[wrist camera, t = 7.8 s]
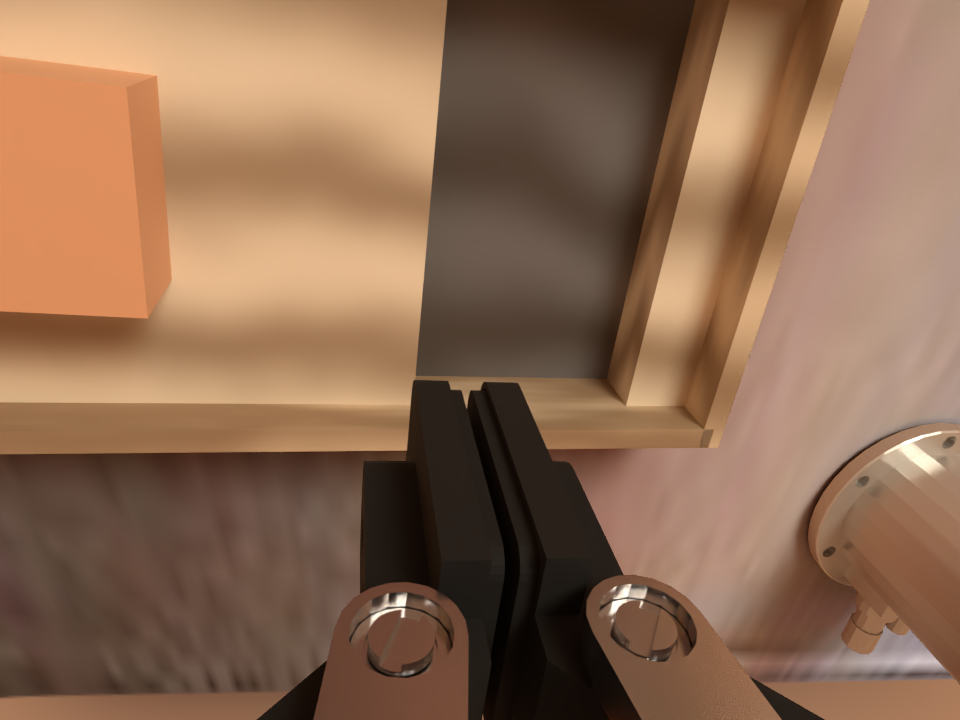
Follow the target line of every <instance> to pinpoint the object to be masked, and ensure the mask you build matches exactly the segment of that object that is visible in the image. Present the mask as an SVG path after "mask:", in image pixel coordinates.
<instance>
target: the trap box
mask: <svg viewBox="0 0 960 720" xmlns="http://www.w3.org/2000/svg"><path fill="white" fill-rule="evenodd" d="M869 1H870V0H0V56H7V57H15V58H23V59H31V60H39V61H47V62H55V63H63V64H71V65H79V66H86V67H94V68H102V69H110V70H118V71H126V72H134V73H142V74H150V75H157V82H158V96H159V110H160V123H161V137H162V151H163V165H164V178H165V192H166V206H167V220H168V233H169V247H170V261H171V275H172V280H171V282H170V283H169V285H168V287H167V288H166V290H165V292H164V293H163V295H162V296H161V298H160V300H159V301H158V303H157V305H156V306H155V308H154V309H153V311H152V313H151V314H150V316H149V318H148V319H146V318H126V317H106V316H86V315H65V314H45V313H25V312H5V311H0V454H82V453H189V452H296V451H404V450H407V443H408V431H409V418H410V406H411V394H412V385H413V381H414V380H438V381H448V382H449V384H450V388H451V390H461V391H462V394H463V397H464V401H465V405H466V408H467V404H468V397H469V393H470V391H471V390H481V386H482V384H483V382H513V383H518V384H519V385H520V387H521V390H522V392H523V394H524V397H525V399H526V401H527V404H528V406H529V408H530V411H531V413H532V415H533V418H534V420H535V422H536V424H537V427H538V429H539V431H540V434H541V436H542V438H543V441H544V443H545V445H546V448H547V449H618V448H718V446H719V443H720V440H721V437H722V434H723V431H724V428H725V425H726V422H727V419H728V416H729V413H730V411H731V408H732V405H733V402H734V399H735V396H736V393H737V390H738V387H739V384H740V381H741V378H742V375H743V372H744V369H745V366H746V363H747V360H748V358H749V355H750V352H751V349H752V346H753V343H754V340H755V337H756V334H757V331H758V328H759V325H760V322H761V319H762V316H763V313H764V310H765V307H766V305H767V302H768V299H769V296H770V293H771V290H772V287H773V284H774V281H775V278H776V275H777V272H778V269H779V266H780V263H781V260H782V257H783V254H784V252H785V249H786V246H787V243H788V240H789V237H790V234H791V231H792V228H793V225H794V222H795V219H796V216H797V213H798V210H799V207H800V204H801V201H802V199H803V196H804V193H805V190H806V187H807V184H808V181H809V178H810V175H811V172H812V169H813V166H814V163H815V160H816V157H817V154H818V151H819V148H820V146H821V143H822V140H823V137H824V134H825V131H826V128H827V125H828V122H829V119H830V116H831V113H832V110H833V107H834V104H835V101H836V98H837V95H838V93H839V90H840V87H841V84H842V81H843V78H844V75H845V72H846V69H847V66H848V63H849V60H850V57H851V54H852V51H853V48H854V45H855V42H856V40H857V37H858V34H859V31H860V28H861V25H862V22H863V19H864V16H865V13H866V10H867V7H868V4H869Z"/></svg>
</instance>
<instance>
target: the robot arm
mask: <svg viewBox="0 0 960 720" xmlns="http://www.w3.org/2000/svg"><path fill="white" fill-rule="evenodd" d="M808 542H809V549H810V552H811V554H812V556H813V558H814V560H815V561H816V563H817V564H818V565H819V566H820V567H821V569H822V570H823V571H824V572H825V573H826V574H827V575H828V576H829V577H830V578H832V579H833V580H834V581H836V582H839V583H841V584H844V585H846V586H852V587H854V588H855V589H856V590H857V593H856V595H855V604H856V605H857V609H856V611H855V612H854V613H853V614H852V615H851V617H850V619H849V621H848V623H847V625H846V627H845V628H844V630H843V632H842V634H841V636H842V640H843V641H844V643H845V644H846V645H847V646H848V647H849V648H851V649H852V650H853V651H855V652H858V653H861V654H869V653H871V652H872V651H873V649H874V647H875V645H876V644H877V642H878V640H879V638H880V636H881V635H882V631H883V627H884V626H885V625H886V627H887V628H888V629H889V630H891V631H892V632H894V633H896V634H898V635H905V634H907V632H908V630H909V629H910V630H911V632H912V633H913V634H914V635H915V636H916V637H917V638H918V639H919V640H920V641H921V643H922V644H923V645H924V646H925V647H926V648H927V649H928V650H929V651H930V652H931V653H932V655H933V656H934V657H935V658H936V659H937V660H938V661H939V662H940V663H941V664H942V666H943V667H944V668H945V669H946V670H947V671H948V672H949V673H950V674H951V675H952V677H953V678H954V679H955V680H956V681H957V682H958V683H959V684H960V425H958V424H952V423H934V424H927V425H920V426H917V427H913V428H910V429H907V430H903V431H900V432H898V433H896V434H894V435H892V436H889V437H887V438H885V439H883V440H881V441H879V442H878V443H876V444H874V445H873V446H871V447H870V448H868V449H866V450H865V451H863V452H862V453H861V454H860V455H858V456H857V457H856V458H855V459H853V460H852V461H851V462H850V463H848V464H847V465H846V466H845V467H844V468H843V469H842V470H841V471H840V472H839V473H838V474H837V475H836V476H835V477H834V479H833V480H832V481H831V483H830V484H829V485H828V487H827V488H826V489H825V491H824V492H823V494H822V495H821V497H820V499H819V501H818V503H817V505H816V506H815V509H814V512H813V515H812V517H811V520H810V523H809V532H808ZM482 714H483V716H484V720H824V719H823V718H821V717H819V716H817V715H816V714H814V713H812V712H810V711H808V710H807V709H805V708H803V707H802V706H800V705H798V704H796V703H795V702H793V701H791V700H789V699H788V698H786V697H784V696H782V695H780V694H779V693H777V692H775V691H774V690H772V689H770V688H768V687H767V686H765V685H763V684H761V683H760V682H758V681H756V680H755V679H753V678H751V677H749V676H748V674H747V673H746V672H745V670H744V669H743V668H742V666H741V665H740V664H739V662H738V661H737V660H736V658H735V657H734V656H733V654H732V653H731V652H730V650H729V649H728V648H727V646H726V645H725V644H724V642H723V641H722V640H721V638H720V637H719V636H718V634H717V633H716V632H715V631H714V629H713V628H712V627H711V625H710V624H709V623H708V621H707V620H706V619H705V617H704V616H703V615H702V613H701V612H700V611H699V610H698V609H697V607H696V606H695V605H694V604H693V603H692V602H691V601H690V600H689V599H688V598H687V597H686V596H684V595H683V594H681V593H680V592H678V591H677V590H675V589H674V588H672V587H671V586H669V585H667V584H664V583H662V582H659V581H657V580H655V579H652V578H647V577H642V576H637V575H623V573H622V571H621V569H620V567H619V564H618V562H617V560H616V558H615V556H614V554H613V552H612V550H611V547H610V545H609V543H608V541H607V539H606V537H605V535H604V533H603V531H602V528H601V526H600V524H599V522H598V520H597V518H596V516H595V514H594V511H593V509H592V507H591V505H590V503H589V501H588V499H587V497H586V494H585V492H584V490H583V488H582V486H581V484H580V482H579V480H578V478H577V475H576V473H575V471H574V469H573V468H572V466H571V465H570V463H568V462H556V461H552V459H551V457H550V455H549V452H548V450H547V448H546V445H545V443H544V441H543V438H542V436H541V434H540V431H539V429H538V427H537V424H536V422H535V420H534V418H533V415H532V413H531V411H530V408H529V406H528V404H527V401H526V399H525V397H524V394H523V392H522V390H521V387H520V385H519V384H518V383H513V382H483V384H482V386H481V390H471V391H470V393H469V397H468V404H467V408H466V405H465V401H464V397H463V394H462V391H461V390H451V388H450V384H449V382H448V381H438V380H414V381H413V385H412V394H411V406H410V418H409V431H408V443H407V456H406V461H364V466H363V484H362V506H361V538H360V595H358V596H356V597H354V598H353V599H352V601H351V602H350V603H349V604H348V605H347V606H346V607H345V608H344V609H343V610H342V612H341V614H340V616H339V619H338V621H337V623H336V626H335V629H334V633H333V637H332V642H331V646H330V650H329V655H328V659H327V661H326V662H324V663H323V664H322V665H321V666H320V667H319V668H317V669H316V670H315V671H314V672H313V673H311V674H310V675H309V676H308V677H307V678H306V679H304V680H303V681H302V682H301V683H300V684H298V685H297V686H296V687H295V688H294V689H293V690H291V691H290V692H289V693H288V694H287V695H286V696H284V697H283V698H282V699H281V700H280V701H278V702H277V703H276V704H275V705H274V706H273V707H272V708H270V709H269V710H268V711H267V712H265V713H264V714H263V715H262V716H261V717H260V718H258V719H257V720H482Z"/></svg>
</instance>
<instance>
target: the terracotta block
mask: <svg viewBox="0 0 960 720" xmlns="http://www.w3.org/2000/svg"><path fill="white" fill-rule="evenodd" d="M171 280H172V275H171V261H170V247H169V233H168V220H167V206H166V192H165V178H164V165H163V151H162V137H161V123H160V110H159V96H158V82H157V75H150V74H142V73H134V72H126V71H118V70H110V69H102V68H94V67H86V66H79V65H71V64H63V63H55V62H47V61H39V60H31V59H23V58H15V57H7V56H0V311H5V312H25V313H45V314H65V315H86V316H106V317H126V318H146V319H148V318H149V316H150V314H151V313H152V311H153V309H154V308H155V306H156V305H157V303H158V301H159V300H160V298H161V296H162V295H163V293H164V292H165V290H166V288H167V287H168V285H169V283H170V282H171Z"/></svg>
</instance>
